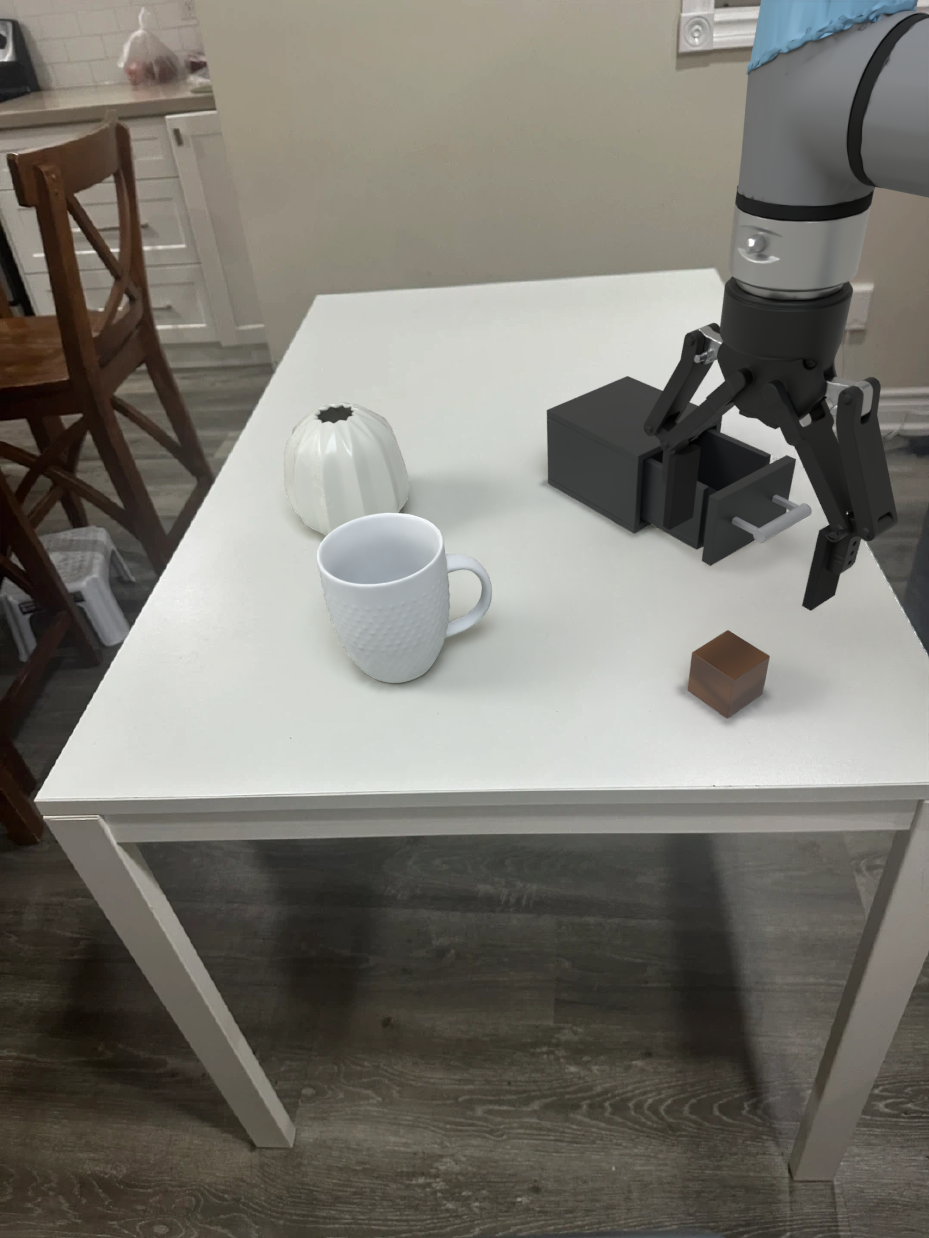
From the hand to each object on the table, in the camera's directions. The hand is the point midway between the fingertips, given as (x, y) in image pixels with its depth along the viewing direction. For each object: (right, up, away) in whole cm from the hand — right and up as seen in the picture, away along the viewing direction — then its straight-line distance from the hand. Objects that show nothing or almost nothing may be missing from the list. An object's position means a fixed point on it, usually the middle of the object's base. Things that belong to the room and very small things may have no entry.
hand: (743, 559), depth 66 cm
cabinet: (-2, +11, +35) cm, 37 cm away
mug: (-27, -8, +15) cm, 32 cm away
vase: (-34, +7, +35) cm, 50 cm away
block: (+1, -11, +9) cm, 14 cm away
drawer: (+5, +5, +26) cm, 27 cm away
